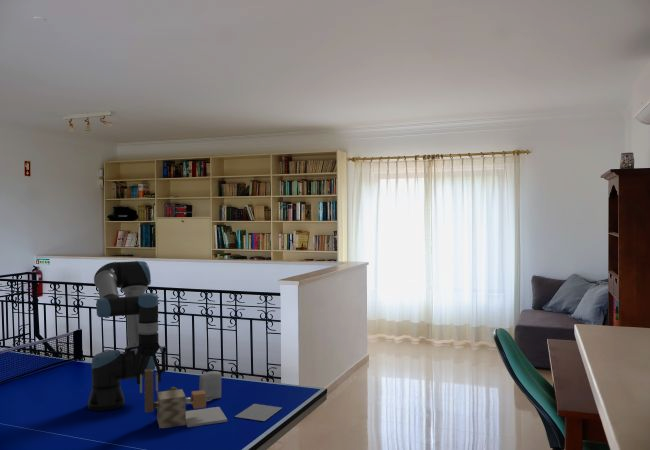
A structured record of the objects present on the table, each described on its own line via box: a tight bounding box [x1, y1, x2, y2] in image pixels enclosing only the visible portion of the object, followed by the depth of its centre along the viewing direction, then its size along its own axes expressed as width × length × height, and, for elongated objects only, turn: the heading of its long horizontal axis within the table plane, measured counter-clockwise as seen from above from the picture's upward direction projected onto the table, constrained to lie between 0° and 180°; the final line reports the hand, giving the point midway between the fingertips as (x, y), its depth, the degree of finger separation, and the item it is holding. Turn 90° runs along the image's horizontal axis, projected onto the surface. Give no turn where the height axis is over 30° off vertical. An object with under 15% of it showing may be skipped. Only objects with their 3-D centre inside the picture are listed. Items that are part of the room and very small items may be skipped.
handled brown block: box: [144, 369, 213, 414], centre depth 222 cm, size 26×4×16 cm, turn 112°
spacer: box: [191, 390, 207, 410], centre depth 225 cm, size 5×5×6 cm
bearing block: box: [156, 388, 187, 429], centre depth 220 cm, size 10×10×11 cm
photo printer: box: [198, 370, 222, 400], centre depth 249 cm, size 10×4×12 cm, turn 123°
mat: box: [185, 406, 228, 428], centre depth 226 cm, size 16×16×1 cm
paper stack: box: [234, 403, 283, 422], centre depth 237 cm, size 23×25×1 cm
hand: (148, 390), depth 217 cm, fingers open, 5 cm apart
